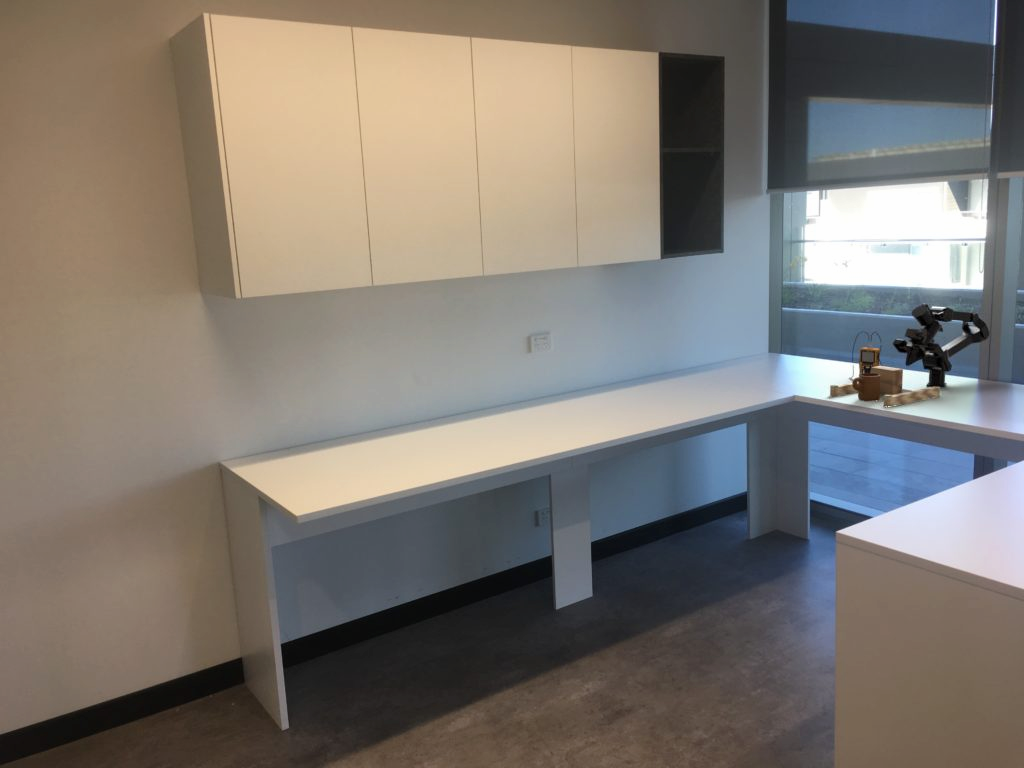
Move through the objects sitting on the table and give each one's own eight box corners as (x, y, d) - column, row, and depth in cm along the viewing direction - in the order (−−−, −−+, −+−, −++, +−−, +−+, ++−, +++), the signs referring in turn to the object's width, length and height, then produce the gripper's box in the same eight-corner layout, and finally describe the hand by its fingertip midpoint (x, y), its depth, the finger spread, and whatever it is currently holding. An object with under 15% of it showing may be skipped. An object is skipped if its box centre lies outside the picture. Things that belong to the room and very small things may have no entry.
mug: (860, 404, 302) (861, 378, 300) (844, 400, 309) (845, 375, 307) (884, 399, 307) (885, 374, 305) (868, 396, 314) (868, 372, 312)
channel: (880, 386, 330) (880, 376, 329) (939, 396, 307) (940, 385, 307) (830, 395, 318) (830, 385, 317) (887, 407, 295) (888, 396, 294)
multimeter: (841, 380, 345) (842, 333, 341) (854, 376, 351) (855, 330, 347) (874, 384, 333) (875, 335, 330) (887, 381, 339) (889, 332, 335)
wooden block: (879, 391, 318) (880, 365, 317) (901, 395, 310) (902, 369, 308) (870, 393, 316) (871, 367, 314) (892, 397, 307) (893, 370, 306)
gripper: (896, 318, 323) (876, 349, 321) (940, 322, 307) (918, 355, 304) (909, 336, 328) (889, 367, 326) (952, 341, 312) (932, 373, 309)
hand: (906, 365), depth 316 cm, fingers closed
